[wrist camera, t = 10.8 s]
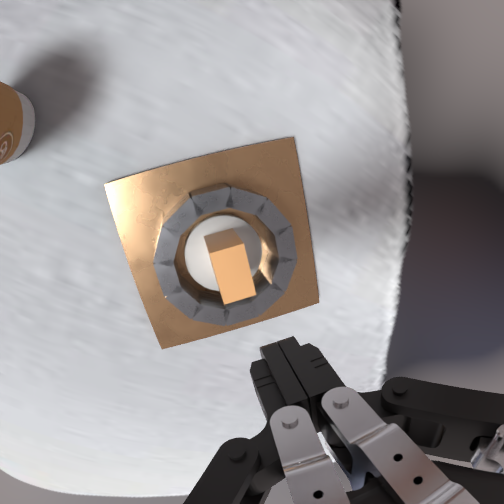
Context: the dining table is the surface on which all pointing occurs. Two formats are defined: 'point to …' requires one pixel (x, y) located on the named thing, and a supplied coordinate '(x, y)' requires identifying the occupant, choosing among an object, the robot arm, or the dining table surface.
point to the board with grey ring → (206, 204)
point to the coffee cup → (14, 123)
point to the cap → (224, 255)
